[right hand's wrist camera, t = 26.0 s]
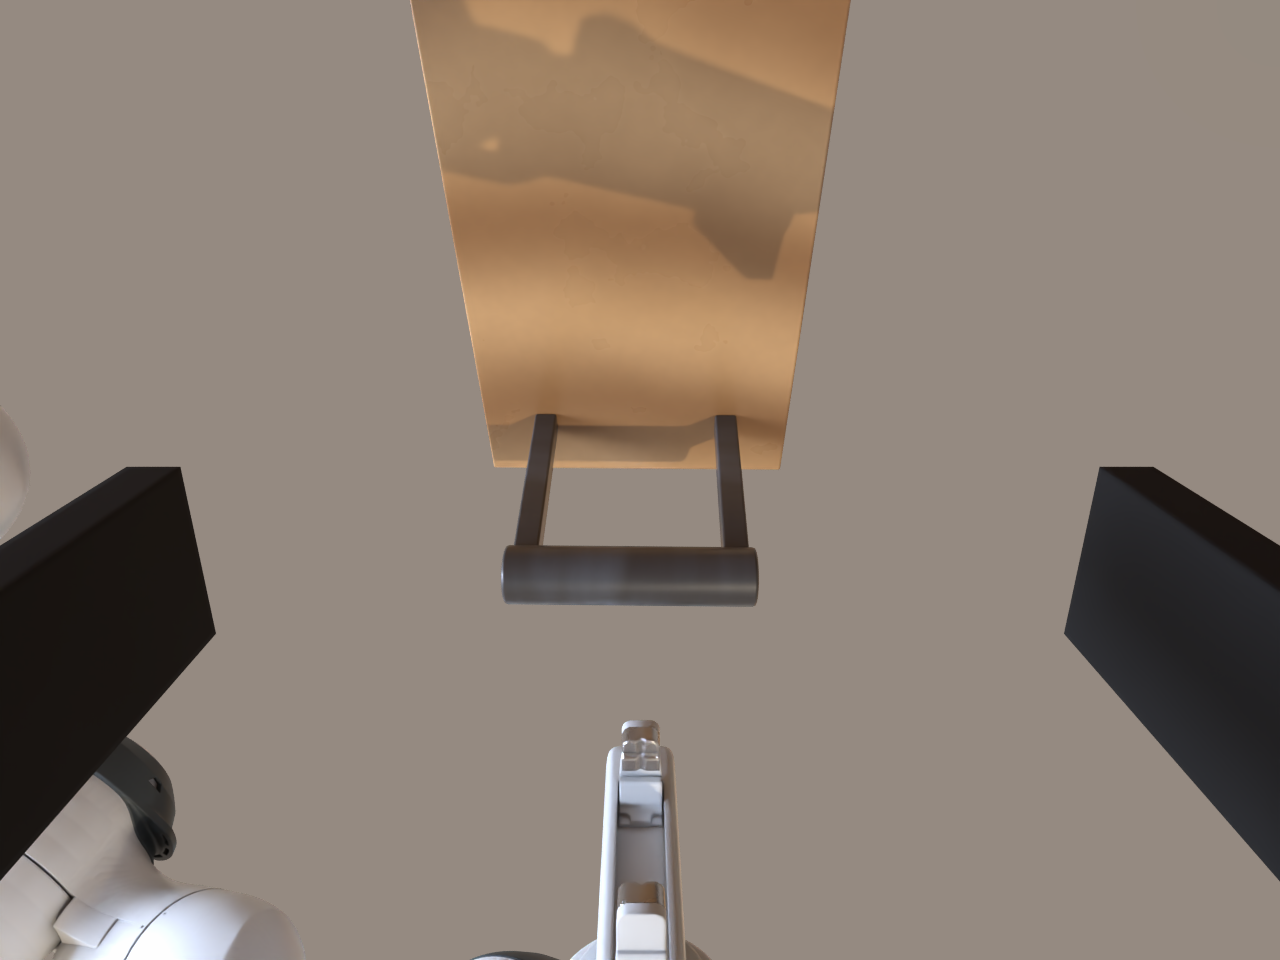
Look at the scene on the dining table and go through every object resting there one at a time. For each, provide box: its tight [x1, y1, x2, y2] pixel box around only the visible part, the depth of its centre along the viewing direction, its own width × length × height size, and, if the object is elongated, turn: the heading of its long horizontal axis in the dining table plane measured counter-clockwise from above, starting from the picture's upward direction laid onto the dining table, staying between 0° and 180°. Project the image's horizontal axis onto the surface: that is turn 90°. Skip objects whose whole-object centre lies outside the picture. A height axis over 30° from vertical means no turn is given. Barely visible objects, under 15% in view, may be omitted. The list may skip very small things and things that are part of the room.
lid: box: [410, 0, 851, 607], centre depth 21 cm, size 17×10×8 cm
